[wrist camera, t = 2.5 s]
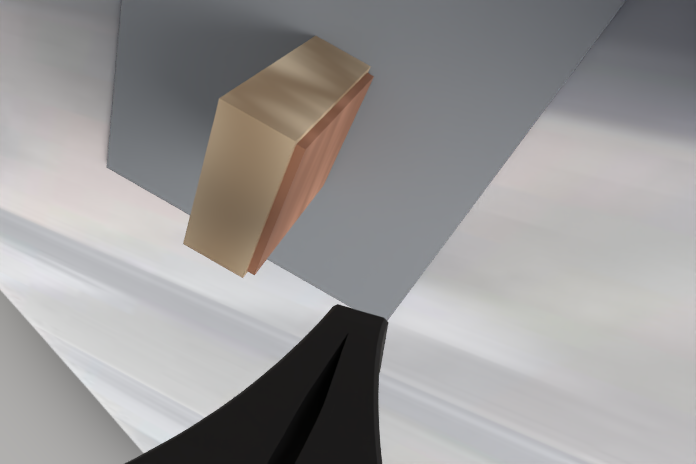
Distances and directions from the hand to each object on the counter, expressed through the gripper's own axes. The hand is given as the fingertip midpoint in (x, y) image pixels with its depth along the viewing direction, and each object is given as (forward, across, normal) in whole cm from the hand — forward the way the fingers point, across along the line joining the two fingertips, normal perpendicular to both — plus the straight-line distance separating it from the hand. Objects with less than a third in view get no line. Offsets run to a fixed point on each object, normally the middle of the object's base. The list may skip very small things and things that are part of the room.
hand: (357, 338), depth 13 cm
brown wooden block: (+10, +5, -1) cm, 11 cm away
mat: (+10, +6, -1) cm, 12 cm away
